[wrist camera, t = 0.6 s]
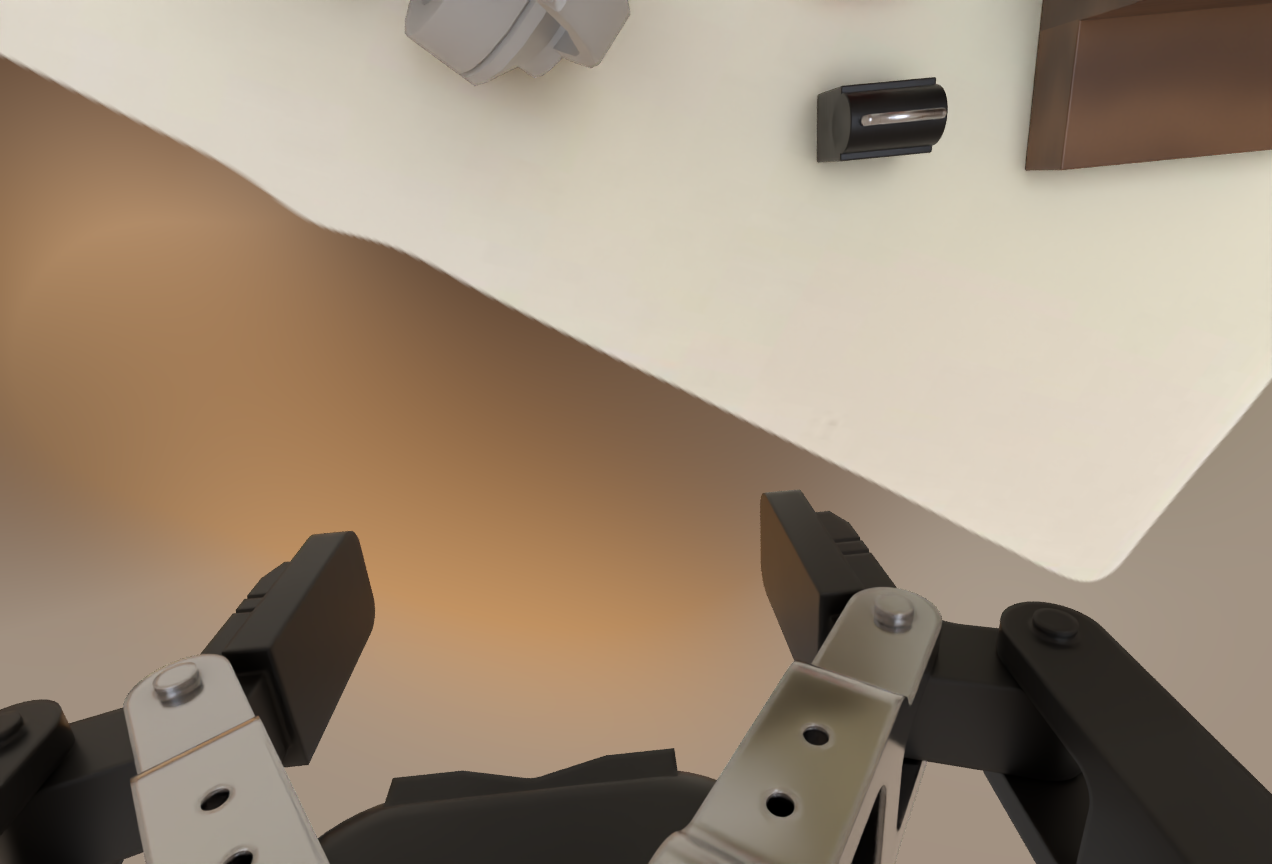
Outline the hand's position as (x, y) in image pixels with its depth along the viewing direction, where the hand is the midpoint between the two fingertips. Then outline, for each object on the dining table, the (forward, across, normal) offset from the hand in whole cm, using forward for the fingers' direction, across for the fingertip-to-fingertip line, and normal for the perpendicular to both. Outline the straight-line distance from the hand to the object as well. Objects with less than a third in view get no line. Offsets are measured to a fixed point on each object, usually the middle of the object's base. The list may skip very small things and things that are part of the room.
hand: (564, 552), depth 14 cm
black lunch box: (+26, -15, -8) cm, 31 cm away
